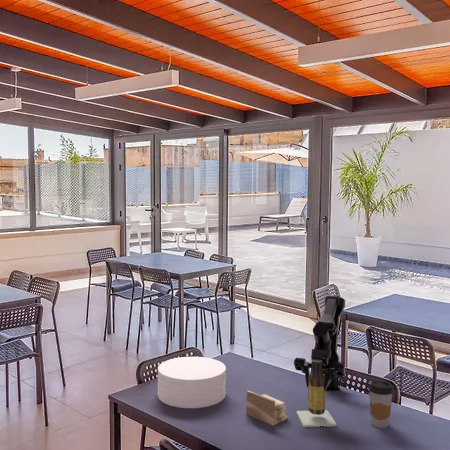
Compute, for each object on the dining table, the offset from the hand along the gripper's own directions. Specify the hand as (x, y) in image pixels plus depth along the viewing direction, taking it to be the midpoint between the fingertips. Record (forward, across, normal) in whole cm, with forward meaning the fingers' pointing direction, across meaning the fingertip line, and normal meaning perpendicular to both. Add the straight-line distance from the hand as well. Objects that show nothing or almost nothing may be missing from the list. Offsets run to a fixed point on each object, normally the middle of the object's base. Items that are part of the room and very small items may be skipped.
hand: (316, 388), depth 194 cm
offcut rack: (+11, -18, +7) cm, 22 cm away
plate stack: (+5, -52, +13) cm, 54 cm away
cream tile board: (+8, 0, +10) cm, 12 cm away
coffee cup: (+5, +22, +13) cm, 26 cm away
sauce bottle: (+6, 0, +8) cm, 10 cm away
